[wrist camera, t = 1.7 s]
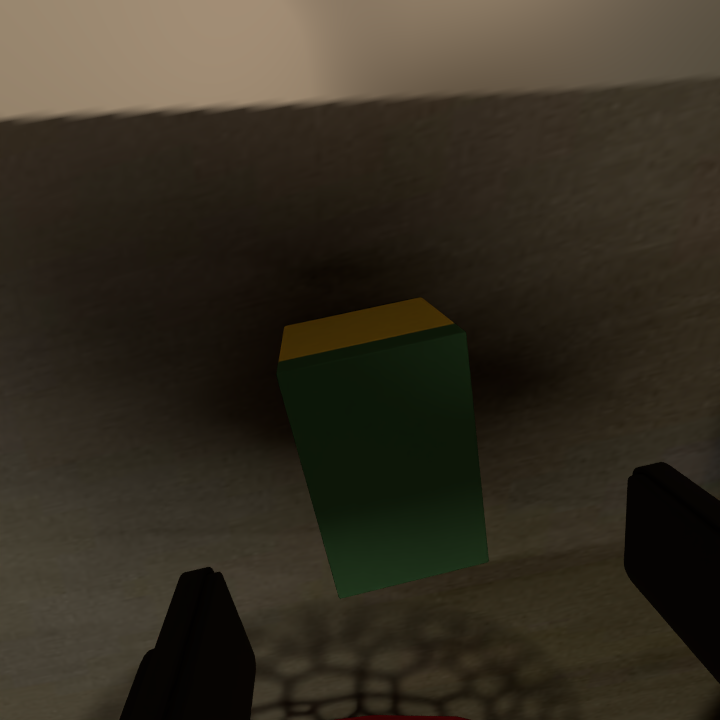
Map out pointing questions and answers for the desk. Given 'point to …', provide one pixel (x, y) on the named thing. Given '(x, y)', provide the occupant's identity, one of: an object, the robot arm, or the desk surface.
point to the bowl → (404, 717)
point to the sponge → (386, 442)
